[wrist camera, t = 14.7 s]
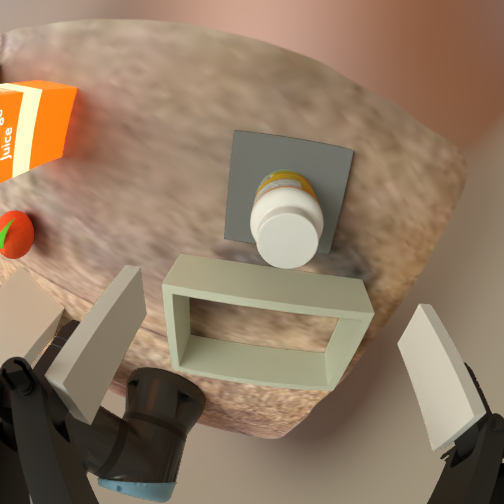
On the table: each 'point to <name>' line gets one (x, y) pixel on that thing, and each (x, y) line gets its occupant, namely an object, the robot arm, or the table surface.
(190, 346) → the open box
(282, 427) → the table surface
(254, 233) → the supplement bottle
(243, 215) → the slate mat
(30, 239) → the clementine
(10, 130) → the orange juice
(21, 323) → the milk
